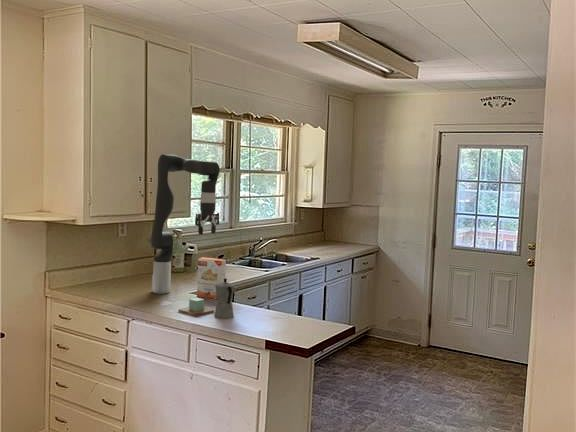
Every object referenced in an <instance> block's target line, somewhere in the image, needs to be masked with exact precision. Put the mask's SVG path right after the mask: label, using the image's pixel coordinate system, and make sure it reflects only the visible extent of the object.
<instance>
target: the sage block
mask: <svg viewBox="0 0 576 432" xmlns="http://www.w3.org/2000/svg"><path fill="white" fill-rule="evenodd" d="M188 303H189V304H188V305H189V306H188V307H189V310H193V311H201V310H204V307H205V299H203V298H201V297H193V298H190V299H189V302H188Z"/></svg>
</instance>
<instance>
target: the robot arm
mask: <svg viewBox="0 0 576 432" xmlns="http://www.w3.org/2000/svg"><path fill="white" fill-rule="evenodd" d="M220 170H221V168H220V165H219V163H218V162H216V161H206V160H200V159H193V158H189V159H187V158H184V157H181V156H178V155H176V154H167V153H163V154H161V155H159V157H158V161H157V189H156V197H155V198H156V199H155V210H154V219H153V226H152V231H151V235H150V243H151V247H152V249H154V250H160V251H159V252H158V253H157V254H155V255H154V256H153V272H152V274H151V275H152V276H151V292H152V293H153V294H156V295H157V294H159V295H160V294H161V295H164V294H170V292H171V277H172V276H171V274H172V273H171V272H172V271H171V270H172V257H173V251H174V235H173V234H172V232H170V231H163V230H164V225H165V223H166V222H167V219H168V218H169V217H170V216H171V213H172V211H173V209H174V201H175V196H174V192H173V191H172V188H171V186H170V184H169V173H175V172H183V171H185V172H188V173H189V174H197V175H199V176H206V177H207V176H208V177H207V179H206V180H203V181H201V186H200V187H201V190H200V204H199V205H200V207H199V208H200V209H199V210H200V213H195V220H194V221H195V222H194V226H197V227H198V229H197V230H198V231H197V233H198V234H199V235H203V233H204V225H205V224H206V223H210V224H211V228H210V231H211V234H216V232H217V231H216V230H217V226H218V225H220V213H219V212H215V211H216V207H217V205H216V201H217V196H216V195H217V194H216V192H217V191H216V187H217V182H218V179H219V175H220V172H221V171H220Z"/></svg>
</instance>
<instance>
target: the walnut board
mask: <svg viewBox="0 0 576 432" xmlns="http://www.w3.org/2000/svg"><path fill="white" fill-rule="evenodd" d="M178 313H181V314H184V315H188V316H192V317H196V318H197V317H200V316H204V315H210V314H213V313H214V314H215V309H211V308H209V307H206V306H204V310H201V311H193V310H189V306H187V307H183V308H180V309H178Z"/></svg>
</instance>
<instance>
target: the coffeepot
mask: <svg viewBox="0 0 576 432" xmlns="http://www.w3.org/2000/svg"><path fill="white" fill-rule="evenodd" d="M227 281H228V278H226V277H225V279H224V282H222V283H217V284H216V285H215V286H216V296H217V299H216V301H217V302H216V307H215V310H214V317H215V318H217V319H232V318H234V309H233V301H232V299H233V295H234V289H235V286H236V285H235V283H231V282H227Z"/></svg>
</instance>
